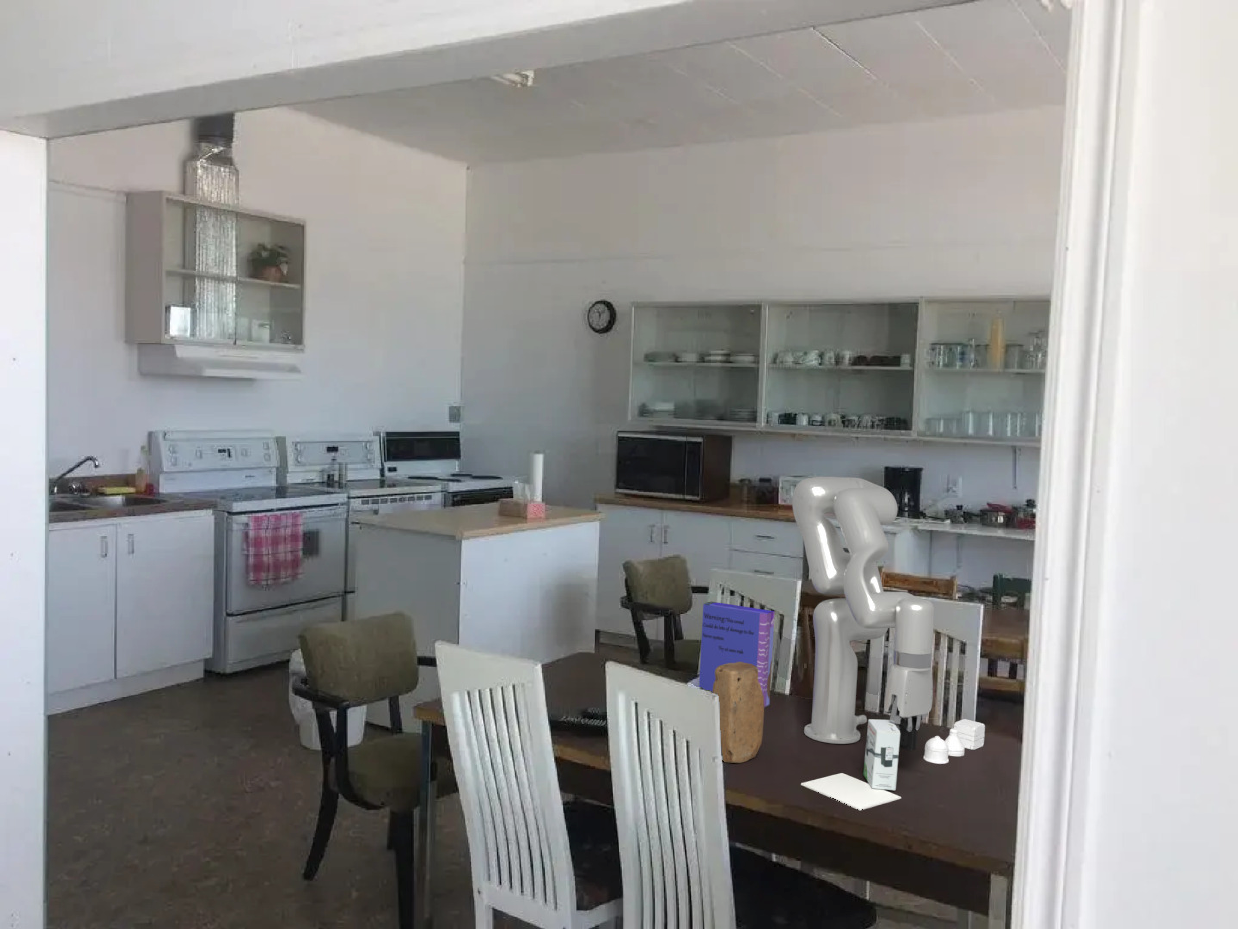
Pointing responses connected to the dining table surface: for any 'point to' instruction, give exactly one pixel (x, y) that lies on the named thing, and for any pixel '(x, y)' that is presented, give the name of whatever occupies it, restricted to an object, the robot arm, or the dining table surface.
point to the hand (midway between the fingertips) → (907, 748)
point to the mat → (850, 791)
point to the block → (739, 710)
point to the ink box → (882, 754)
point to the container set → (955, 741)
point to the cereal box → (736, 642)
